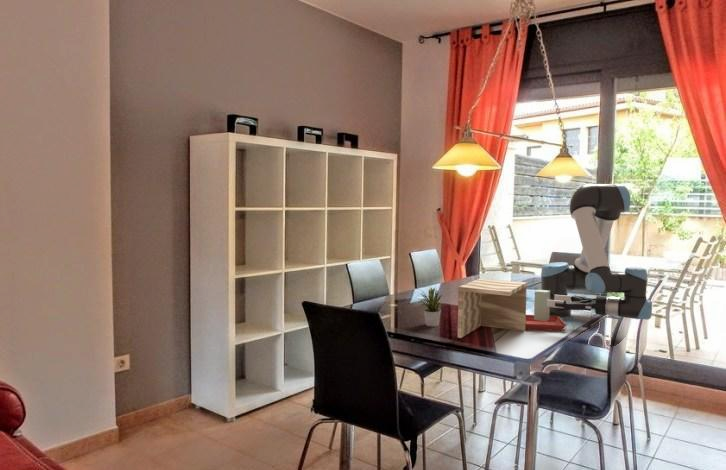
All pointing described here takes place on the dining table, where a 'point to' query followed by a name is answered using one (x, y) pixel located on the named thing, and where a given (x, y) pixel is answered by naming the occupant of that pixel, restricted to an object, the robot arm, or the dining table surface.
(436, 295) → the house plant
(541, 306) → the tall block
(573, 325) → the dining table surface
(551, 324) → the plant saucer
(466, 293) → the cubby box
